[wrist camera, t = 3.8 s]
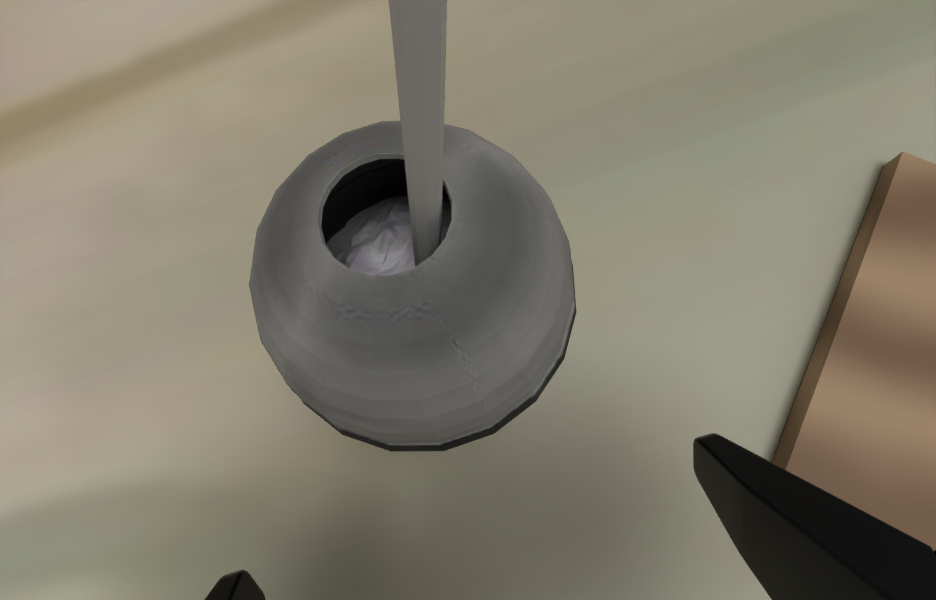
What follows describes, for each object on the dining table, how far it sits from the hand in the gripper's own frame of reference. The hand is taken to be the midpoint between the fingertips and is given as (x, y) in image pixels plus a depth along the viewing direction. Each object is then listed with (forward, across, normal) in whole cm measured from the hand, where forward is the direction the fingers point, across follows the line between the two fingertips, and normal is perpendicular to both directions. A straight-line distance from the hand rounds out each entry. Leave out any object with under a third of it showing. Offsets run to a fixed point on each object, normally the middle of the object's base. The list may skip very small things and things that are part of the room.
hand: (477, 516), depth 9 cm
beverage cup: (+12, 0, +5) cm, 13 cm away
